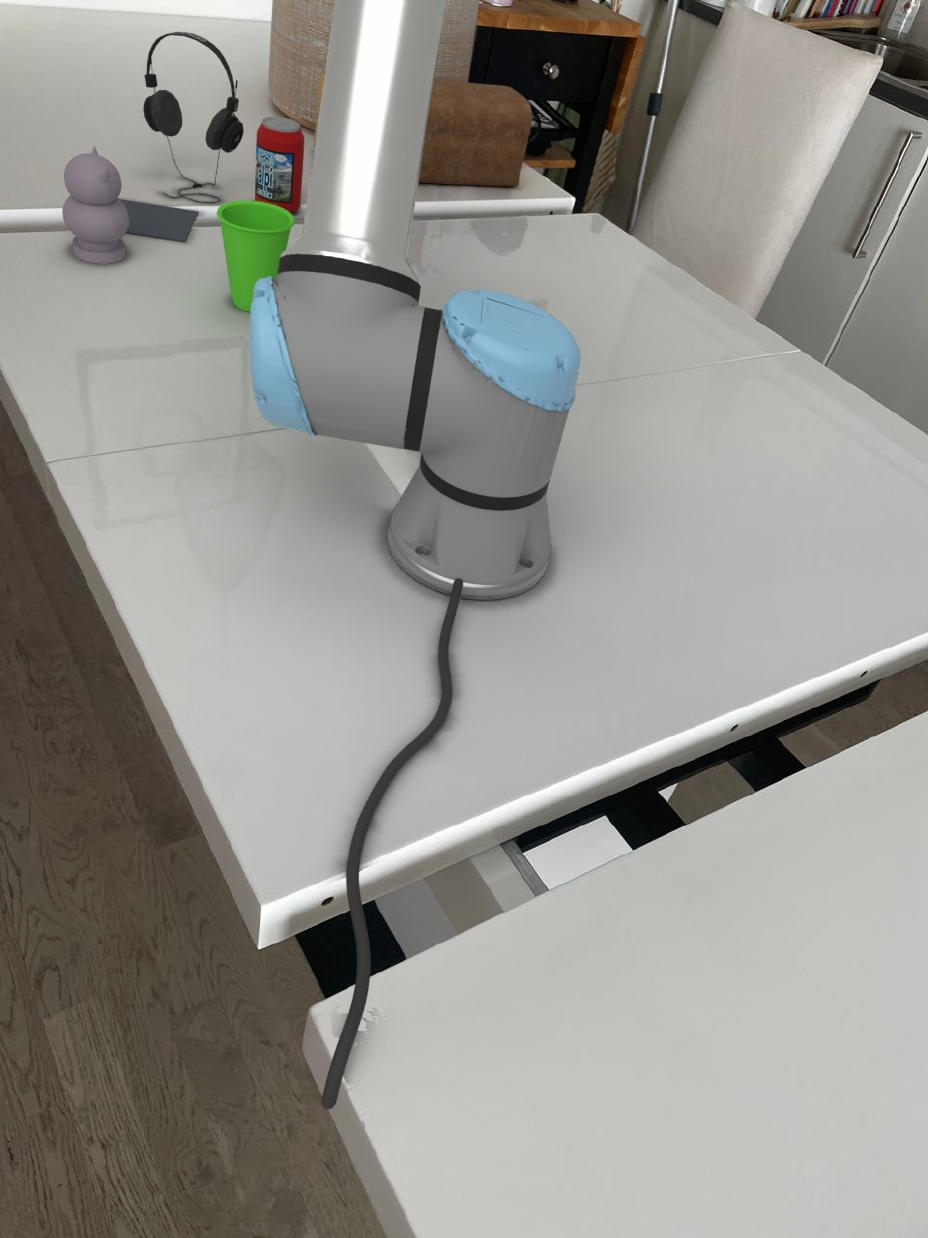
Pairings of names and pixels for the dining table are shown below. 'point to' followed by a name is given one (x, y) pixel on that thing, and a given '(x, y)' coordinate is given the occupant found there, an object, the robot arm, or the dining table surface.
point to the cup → (252, 244)
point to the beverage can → (279, 163)
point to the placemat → (159, 220)
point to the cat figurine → (95, 209)
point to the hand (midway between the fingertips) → (338, 151)
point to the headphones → (168, 117)
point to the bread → (471, 134)
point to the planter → (305, 43)
